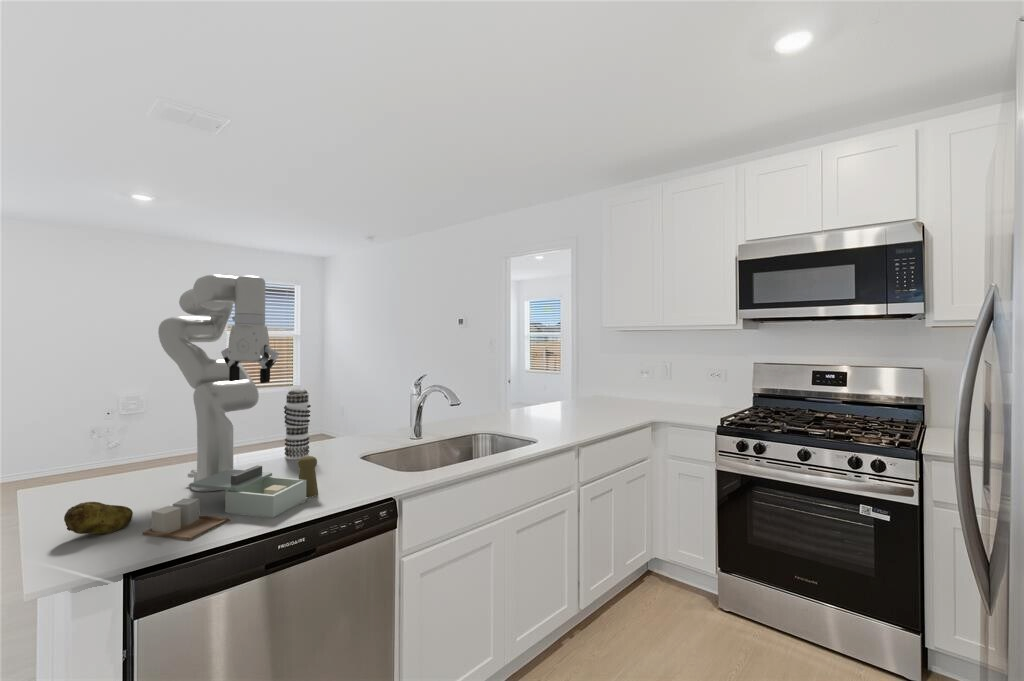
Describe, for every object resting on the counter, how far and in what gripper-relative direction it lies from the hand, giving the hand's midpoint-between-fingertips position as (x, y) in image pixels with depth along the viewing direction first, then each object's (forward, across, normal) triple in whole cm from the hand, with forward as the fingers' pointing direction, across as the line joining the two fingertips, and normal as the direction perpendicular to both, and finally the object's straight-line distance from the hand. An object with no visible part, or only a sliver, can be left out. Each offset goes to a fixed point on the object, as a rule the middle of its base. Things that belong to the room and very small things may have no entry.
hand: (249, 381), depth 140 cm
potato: (+34, -17, -28) cm, 47 cm away
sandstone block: (+33, +12, -4) cm, 35 cm away
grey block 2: (+33, -3, -18) cm, 38 cm away
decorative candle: (+34, -15, +44) cm, 57 cm away
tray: (+33, 0, -21) cm, 39 cm away
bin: (+33, +9, -4) cm, 35 cm away
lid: (+27, -2, -4) cm, 27 cm away
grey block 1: (+33, -3, -24) cm, 41 cm away
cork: (+34, +13, +8) cm, 37 cm away
